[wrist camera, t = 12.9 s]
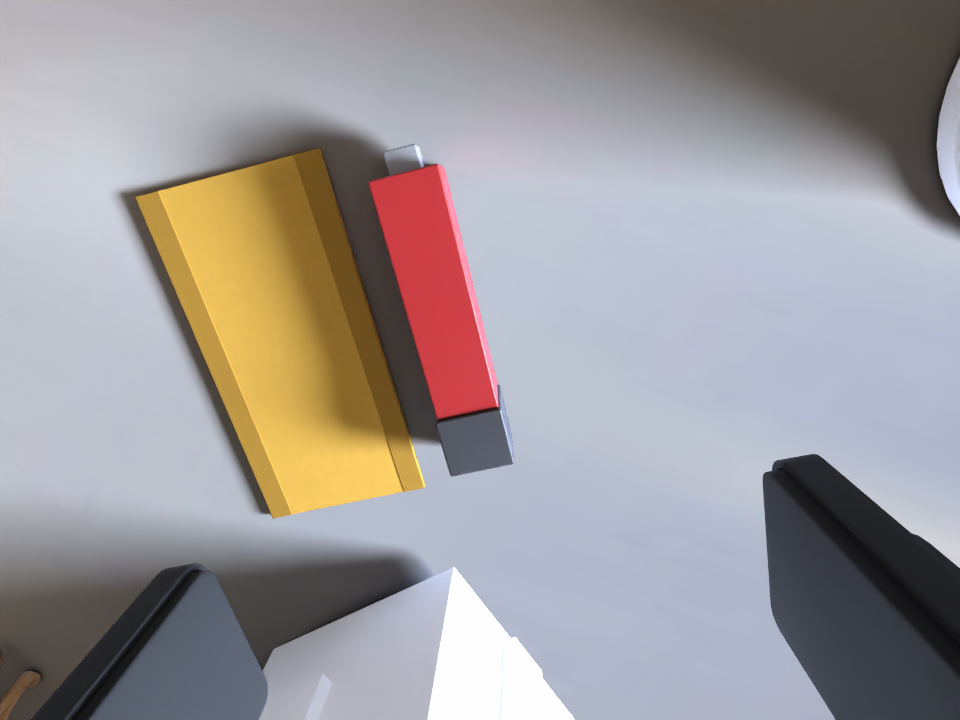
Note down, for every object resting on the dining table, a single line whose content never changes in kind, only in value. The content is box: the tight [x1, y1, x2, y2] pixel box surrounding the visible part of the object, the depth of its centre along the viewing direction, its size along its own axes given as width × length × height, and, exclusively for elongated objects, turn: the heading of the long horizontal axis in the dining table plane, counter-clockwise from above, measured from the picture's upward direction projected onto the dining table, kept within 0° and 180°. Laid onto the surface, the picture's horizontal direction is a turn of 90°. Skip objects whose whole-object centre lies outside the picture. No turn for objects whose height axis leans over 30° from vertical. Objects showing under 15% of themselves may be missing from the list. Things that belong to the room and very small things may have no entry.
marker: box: [368, 144, 514, 476], centre depth 24 cm, size 3×15×3 cm, turn 13°
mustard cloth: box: [135, 148, 425, 518], centre depth 26 cm, size 9×18×1 cm, turn 13°
